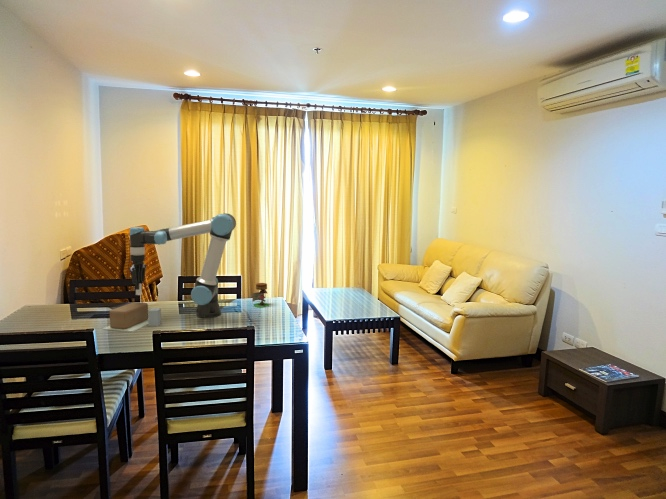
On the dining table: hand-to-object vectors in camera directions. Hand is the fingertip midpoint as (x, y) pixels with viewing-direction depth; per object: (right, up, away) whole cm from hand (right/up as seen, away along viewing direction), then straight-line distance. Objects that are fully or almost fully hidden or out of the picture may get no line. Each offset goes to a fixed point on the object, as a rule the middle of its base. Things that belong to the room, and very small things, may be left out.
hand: (138, 294), depth 241 cm
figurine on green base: (+64, -12, +44) cm, 78 cm away
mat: (-2, -16, -7) cm, 18 cm away
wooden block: (0, -10, +3) cm, 10 cm away
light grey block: (+12, -17, -5) cm, 21 cm away
